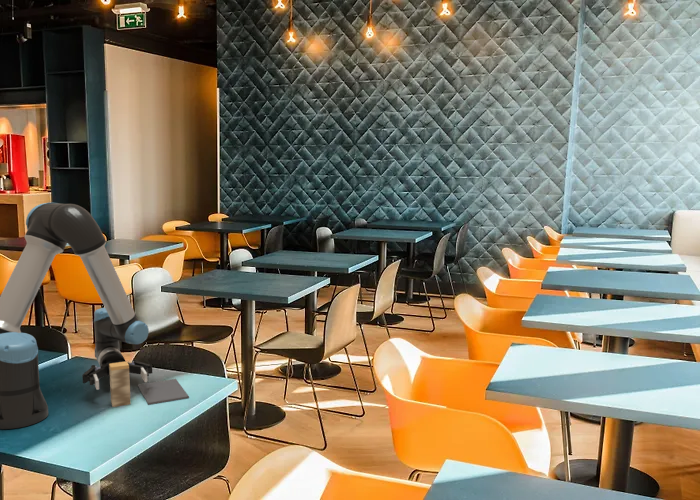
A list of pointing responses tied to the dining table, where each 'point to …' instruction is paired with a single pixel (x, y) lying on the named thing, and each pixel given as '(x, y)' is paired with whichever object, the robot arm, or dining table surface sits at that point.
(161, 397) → the rubber mat
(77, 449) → the dining table surface
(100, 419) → the dining table surface
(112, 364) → the maple block
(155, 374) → the dining table surface
